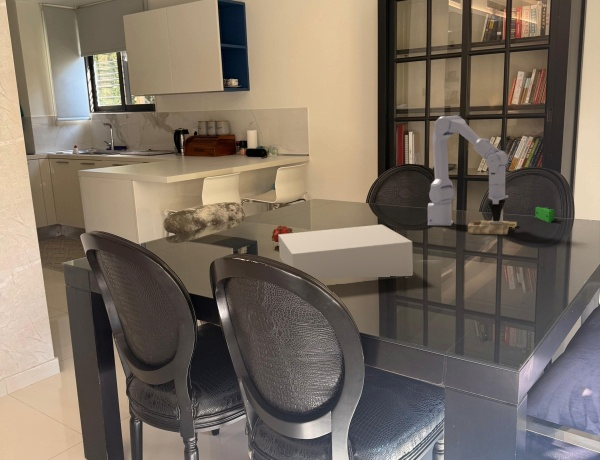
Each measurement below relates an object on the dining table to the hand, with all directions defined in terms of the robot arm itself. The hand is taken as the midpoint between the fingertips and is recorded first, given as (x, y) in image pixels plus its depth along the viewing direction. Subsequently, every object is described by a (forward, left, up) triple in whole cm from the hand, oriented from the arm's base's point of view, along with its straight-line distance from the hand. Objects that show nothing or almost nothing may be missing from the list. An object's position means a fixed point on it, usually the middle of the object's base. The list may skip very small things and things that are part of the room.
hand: (496, 219), depth 214 cm
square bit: (0, 0, -3) cm, 3 cm away
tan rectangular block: (+3, +9, -5) cm, 11 cm away
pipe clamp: (+17, +25, -5) cm, 31 cm away
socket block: (-3, 0, -4) cm, 5 cm away
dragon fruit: (-73, -35, -5) cm, 81 cm away
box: (-41, -62, -5) cm, 75 cm away
